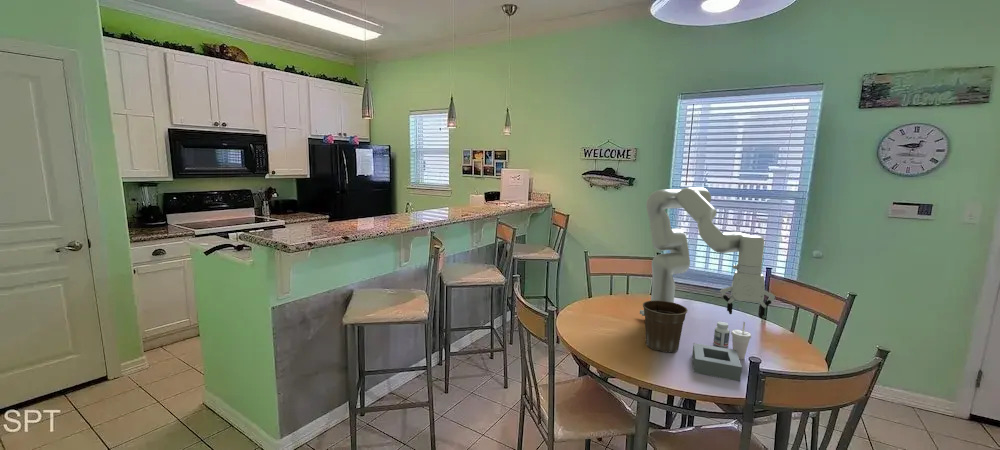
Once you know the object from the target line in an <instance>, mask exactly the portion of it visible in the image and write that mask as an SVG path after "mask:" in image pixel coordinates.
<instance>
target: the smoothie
mask: <svg viewBox="0 0 1000 450" xmlns="http://www.w3.org/2000/svg"><path fill="white" fill-rule="evenodd" d="M742 323H743V324H742V329H733V330H731V335H732V337H731V339H732V350H736V351H737V354H738V357H739V359H743V360H745V358H746V357H745V356H746V353H747V349H748V346H749V343H750V340H751V338H752V334H751V333H750V332H748V331H747V330H745V327H746V321H743V322H742Z"/></svg>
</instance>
